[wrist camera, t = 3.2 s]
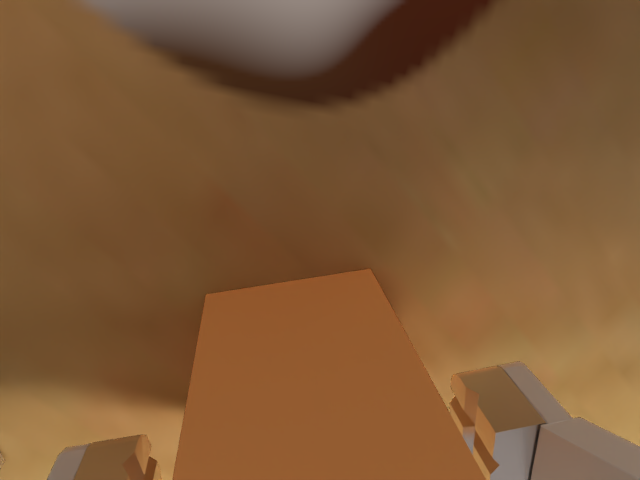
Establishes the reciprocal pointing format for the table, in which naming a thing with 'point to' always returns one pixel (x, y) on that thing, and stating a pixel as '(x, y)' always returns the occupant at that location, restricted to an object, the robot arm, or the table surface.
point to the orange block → (314, 390)
